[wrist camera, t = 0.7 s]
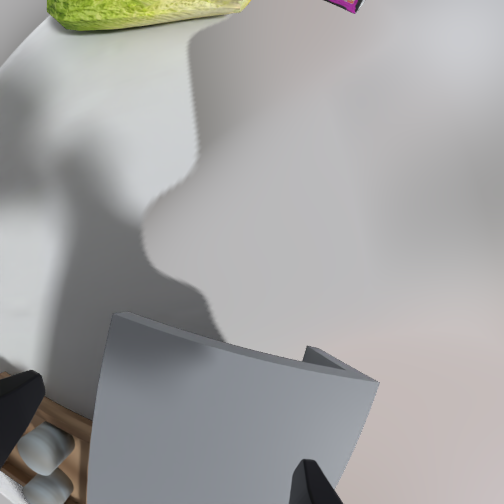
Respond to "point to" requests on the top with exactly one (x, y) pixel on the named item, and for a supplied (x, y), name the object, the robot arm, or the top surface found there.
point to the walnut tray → (71, 461)
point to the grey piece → (215, 418)
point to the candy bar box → (348, 4)
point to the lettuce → (135, 12)
